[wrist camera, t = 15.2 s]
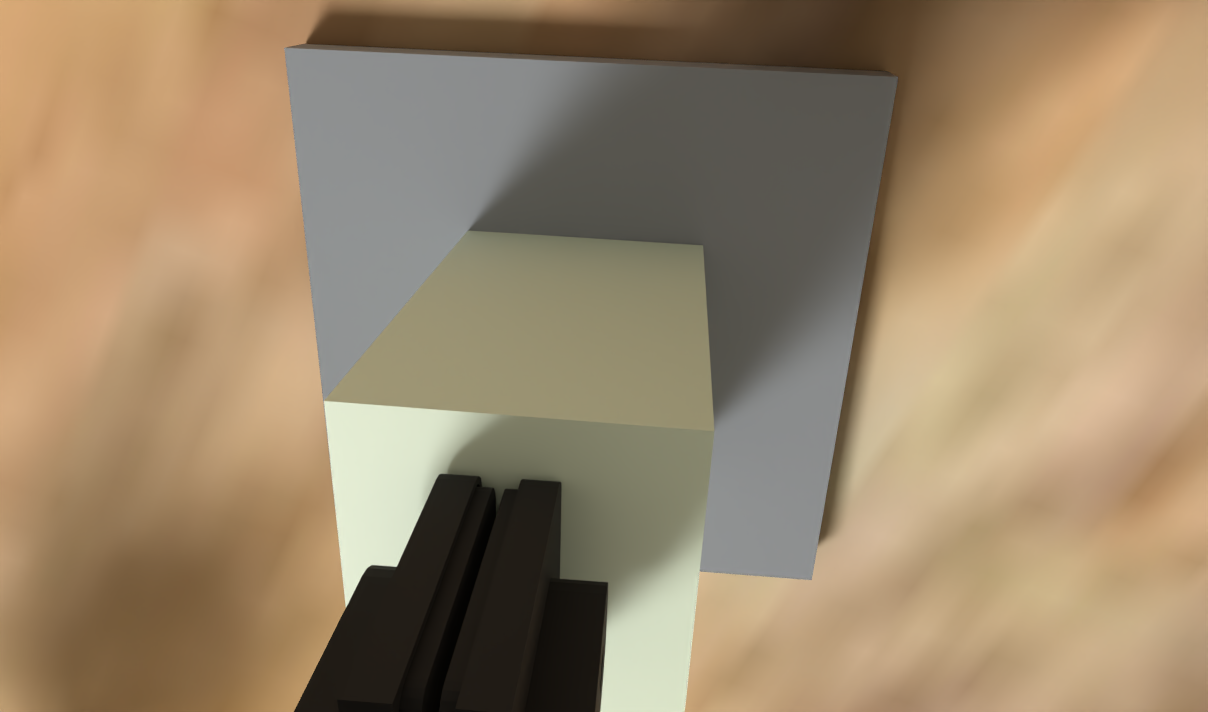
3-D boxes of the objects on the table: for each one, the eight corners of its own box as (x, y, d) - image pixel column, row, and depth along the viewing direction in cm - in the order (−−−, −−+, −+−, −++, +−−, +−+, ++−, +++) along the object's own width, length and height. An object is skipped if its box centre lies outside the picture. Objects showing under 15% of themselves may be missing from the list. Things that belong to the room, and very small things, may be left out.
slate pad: (886, 71, 17) (898, 77, 16) (805, 555, 22) (811, 580, 21) (304, 43, 18) (284, 47, 17) (352, 520, 23) (339, 543, 22)
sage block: (703, 245, 18) (714, 430, 11) (684, 451, 20) (683, 725, 13) (468, 230, 18) (323, 400, 11) (473, 434, 20) (354, 692, 13)
